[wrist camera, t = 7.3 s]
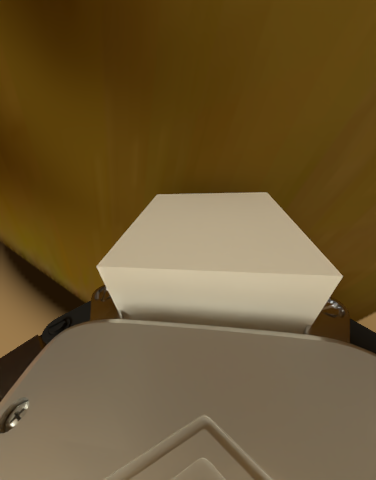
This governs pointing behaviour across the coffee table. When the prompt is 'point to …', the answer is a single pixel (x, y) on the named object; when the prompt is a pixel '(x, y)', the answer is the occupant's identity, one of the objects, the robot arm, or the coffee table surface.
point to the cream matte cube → (218, 265)
